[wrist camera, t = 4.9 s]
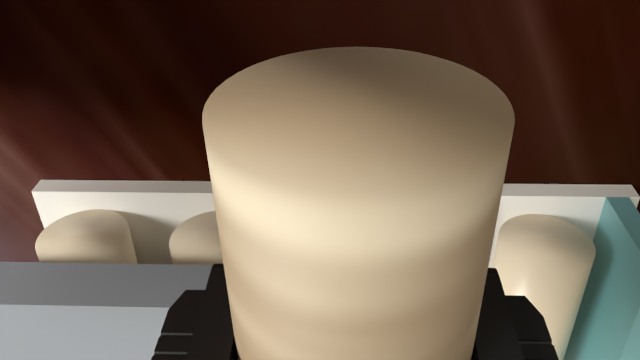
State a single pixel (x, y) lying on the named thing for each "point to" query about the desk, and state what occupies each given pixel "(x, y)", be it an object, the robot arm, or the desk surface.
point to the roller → (356, 202)
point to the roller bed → (506, 256)
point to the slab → (88, 308)
